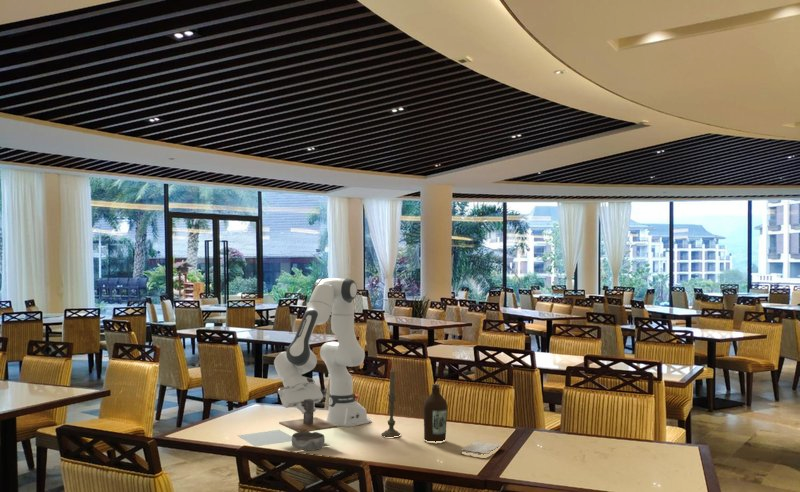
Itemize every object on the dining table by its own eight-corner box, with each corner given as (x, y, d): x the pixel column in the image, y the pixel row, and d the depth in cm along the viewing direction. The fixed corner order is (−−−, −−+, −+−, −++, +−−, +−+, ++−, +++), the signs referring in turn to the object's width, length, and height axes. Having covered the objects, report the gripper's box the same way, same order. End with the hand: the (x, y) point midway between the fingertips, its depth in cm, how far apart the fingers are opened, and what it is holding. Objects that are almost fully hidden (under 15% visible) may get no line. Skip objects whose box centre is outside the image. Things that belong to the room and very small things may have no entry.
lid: (316, 419, 292) (316, 394, 292) (337, 427, 278) (338, 401, 278) (279, 423, 281) (280, 398, 282) (299, 432, 267) (300, 406, 267)
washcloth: (459, 456, 271) (459, 448, 271) (476, 446, 287) (476, 438, 287) (486, 460, 265) (486, 453, 265) (502, 450, 281) (502, 443, 281)
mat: (279, 431, 303) (279, 429, 303) (298, 441, 287) (298, 439, 287) (237, 436, 292) (237, 435, 292) (255, 447, 275) (255, 446, 275)
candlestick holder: (402, 433, 303) (403, 368, 304) (400, 438, 294) (401, 371, 295) (382, 432, 304) (383, 367, 305) (379, 437, 295) (381, 370, 296)
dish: (322, 451, 272) (322, 439, 272) (288, 451, 272) (288, 438, 272) (326, 442, 287) (326, 430, 287) (294, 441, 287) (295, 430, 287)
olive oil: (418, 439, 293) (419, 383, 294) (439, 437, 298) (440, 381, 299) (430, 445, 284) (431, 387, 284) (451, 443, 288) (452, 385, 289)
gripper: (279, 383, 277) (293, 411, 270) (316, 378, 292) (330, 404, 285) (272, 392, 280) (286, 420, 273) (309, 387, 295) (323, 412, 288)
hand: (309, 411), depth 279 cm, fingers closed on lid, 3 cm apart
